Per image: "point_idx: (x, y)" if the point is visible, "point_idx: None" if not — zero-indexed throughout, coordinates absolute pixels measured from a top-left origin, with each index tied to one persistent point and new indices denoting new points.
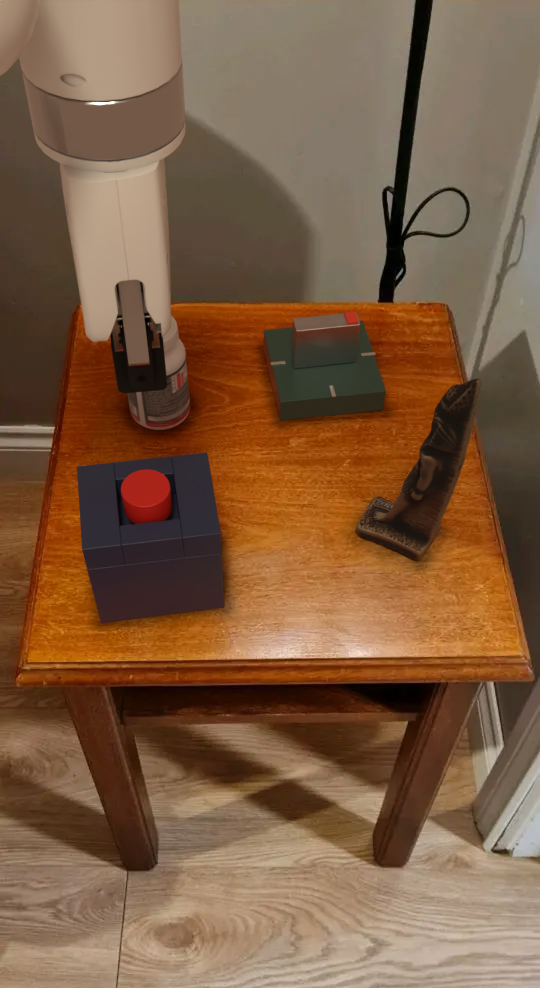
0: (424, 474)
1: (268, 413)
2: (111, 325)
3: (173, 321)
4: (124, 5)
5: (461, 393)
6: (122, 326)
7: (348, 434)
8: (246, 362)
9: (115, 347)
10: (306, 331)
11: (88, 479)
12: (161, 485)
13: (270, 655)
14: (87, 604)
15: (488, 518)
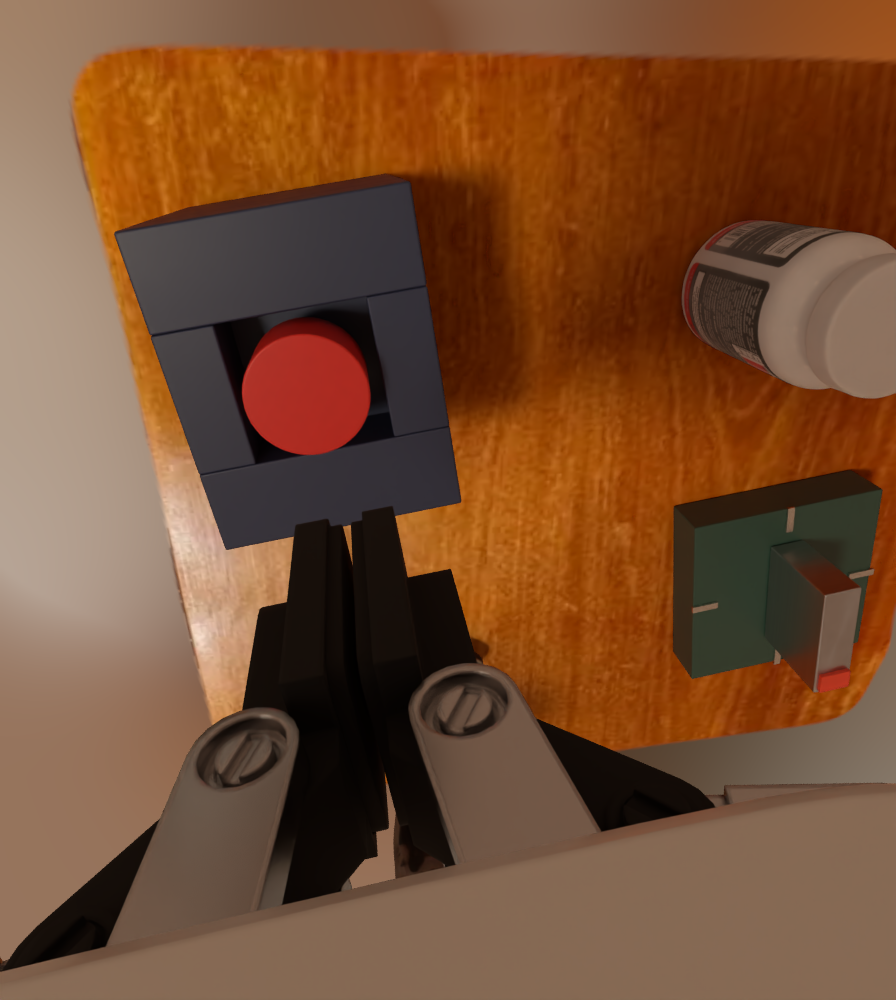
0: (395, 855)
1: (694, 486)
2: None
3: (894, 388)
4: None
5: None
6: (390, 749)
7: (629, 607)
8: (826, 441)
9: (179, 775)
10: (821, 610)
11: (363, 221)
12: (317, 435)
13: (171, 518)
14: (230, 171)
15: None
